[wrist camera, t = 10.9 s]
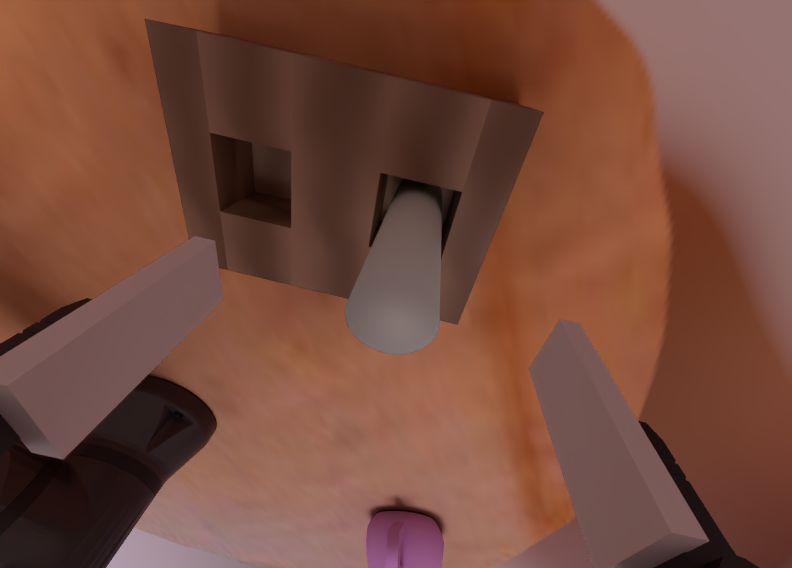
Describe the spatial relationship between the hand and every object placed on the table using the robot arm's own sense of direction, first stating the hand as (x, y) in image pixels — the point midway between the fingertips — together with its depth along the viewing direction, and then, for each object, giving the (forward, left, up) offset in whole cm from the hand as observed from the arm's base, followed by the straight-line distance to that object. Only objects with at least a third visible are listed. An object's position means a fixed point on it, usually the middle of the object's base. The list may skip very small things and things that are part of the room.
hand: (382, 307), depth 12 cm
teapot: (+12, -60, -15) cm, 63 cm away
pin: (0, 0, -13) cm, 13 cm away
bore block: (-5, 0, -15) cm, 15 cm away
